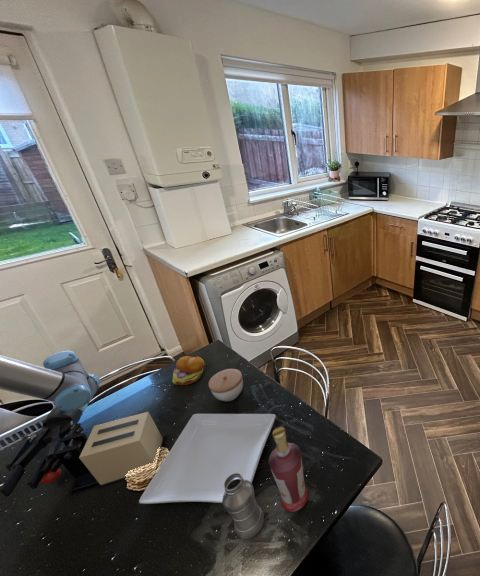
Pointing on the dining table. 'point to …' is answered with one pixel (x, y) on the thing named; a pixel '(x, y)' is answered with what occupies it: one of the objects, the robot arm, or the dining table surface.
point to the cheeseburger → (188, 370)
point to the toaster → (121, 447)
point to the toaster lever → (57, 466)
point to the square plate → (209, 457)
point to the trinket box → (226, 384)
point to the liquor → (288, 472)
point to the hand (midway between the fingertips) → (18, 489)
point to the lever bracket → (76, 463)
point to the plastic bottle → (242, 506)
